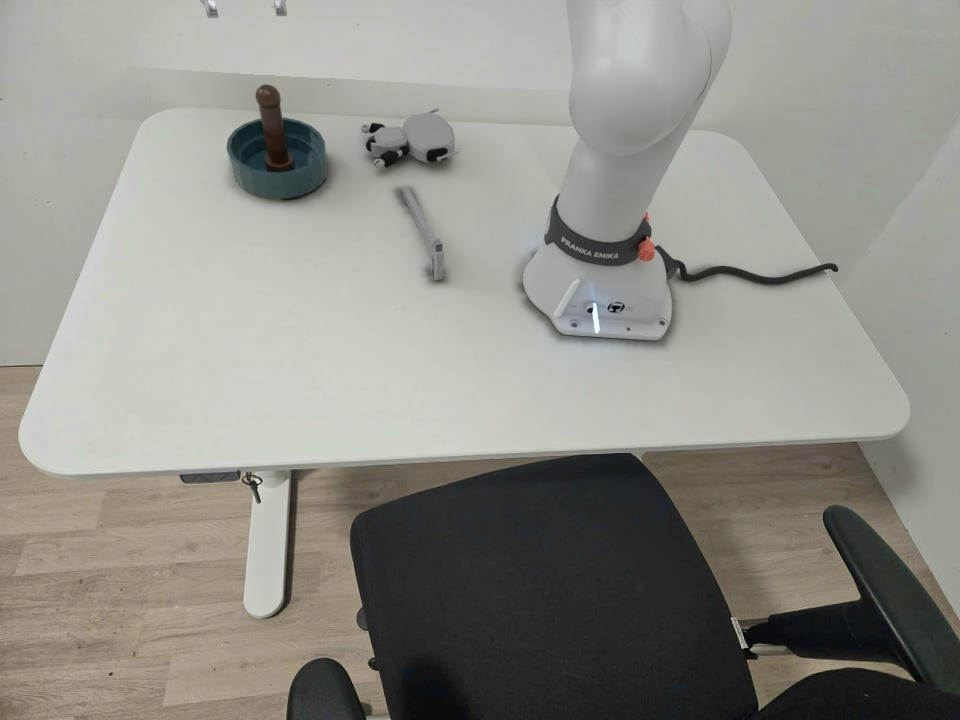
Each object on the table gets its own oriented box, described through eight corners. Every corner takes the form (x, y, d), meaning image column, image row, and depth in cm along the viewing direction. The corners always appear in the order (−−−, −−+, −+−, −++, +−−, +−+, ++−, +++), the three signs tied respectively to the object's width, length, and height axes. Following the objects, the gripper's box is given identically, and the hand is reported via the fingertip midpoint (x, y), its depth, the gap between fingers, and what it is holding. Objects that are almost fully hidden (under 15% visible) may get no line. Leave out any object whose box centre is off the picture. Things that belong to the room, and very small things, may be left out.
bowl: (338, 155, 96) (336, 128, 92) (309, 210, 87) (306, 183, 83) (255, 137, 95) (249, 109, 91) (218, 189, 87) (210, 161, 83)
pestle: (299, 163, 92) (287, 81, 81) (289, 180, 90) (275, 97, 79) (272, 157, 92) (256, 74, 81) (261, 173, 90) (244, 90, 79)
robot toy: (376, 184, 94) (462, 169, 98) (373, 160, 90) (464, 146, 94) (359, 138, 100) (442, 126, 104) (356, 115, 97) (442, 103, 100)
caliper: (442, 281, 83) (446, 250, 78) (434, 283, 82) (438, 251, 77) (407, 190, 93) (408, 157, 88) (400, 190, 93) (401, 157, 88)
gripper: (136, -111, 73) (165, 8, 76) (300, -105, 80) (320, 5, 83) (145, -84, 79) (172, 26, 82) (297, -80, 85) (317, 22, 89)
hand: (247, 15), depth 82 cm, fingers open, 8 cm apart
